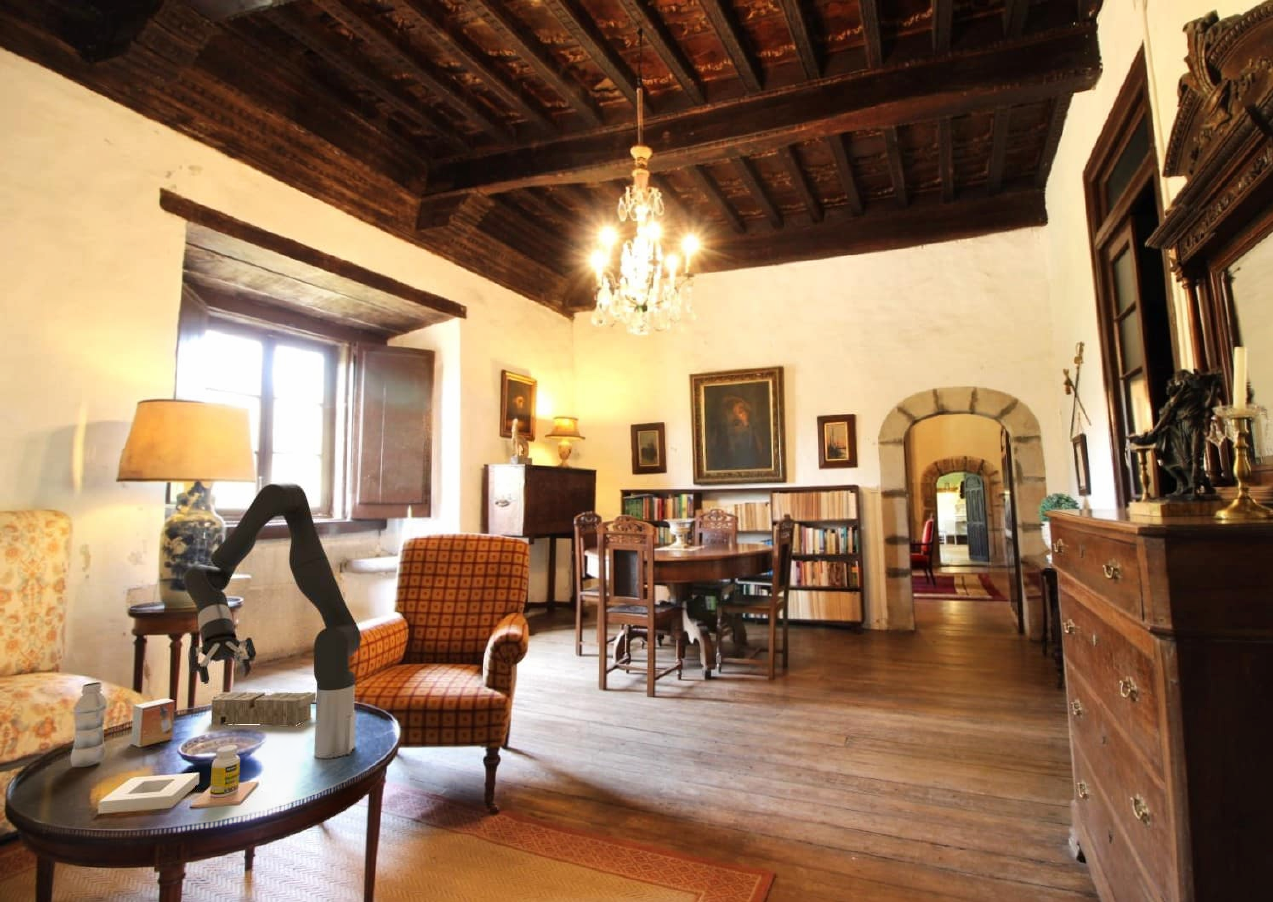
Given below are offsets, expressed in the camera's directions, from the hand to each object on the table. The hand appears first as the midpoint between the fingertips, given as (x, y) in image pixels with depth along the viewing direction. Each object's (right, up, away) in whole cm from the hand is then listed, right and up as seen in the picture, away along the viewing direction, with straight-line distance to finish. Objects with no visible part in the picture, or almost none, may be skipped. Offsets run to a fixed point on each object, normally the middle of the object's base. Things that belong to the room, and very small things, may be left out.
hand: (227, 678), depth 158 cm
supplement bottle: (+10, -20, -16) cm, 27 cm away
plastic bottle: (-36, -23, +1) cm, 43 cm away
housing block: (-6, -21, -17) cm, 27 cm away
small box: (-32, -24, +17) cm, 43 cm away
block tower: (-11, -25, +33) cm, 43 cm away
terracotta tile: (+10, -21, -16) cm, 28 cm away
